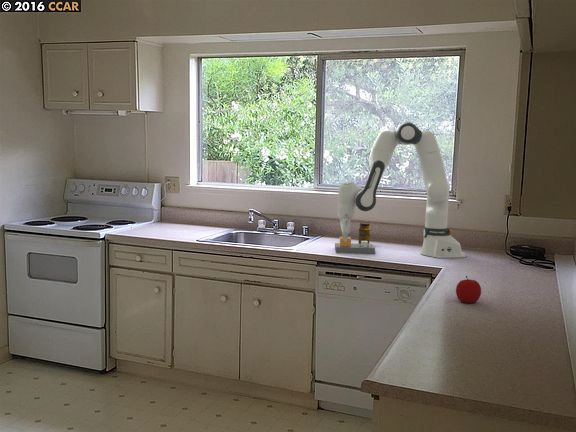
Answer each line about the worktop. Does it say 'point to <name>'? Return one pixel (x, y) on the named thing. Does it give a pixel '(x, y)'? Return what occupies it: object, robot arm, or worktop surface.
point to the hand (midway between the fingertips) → (344, 239)
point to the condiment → (364, 232)
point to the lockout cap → (347, 243)
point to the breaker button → (364, 243)
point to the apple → (468, 291)
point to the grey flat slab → (355, 249)
